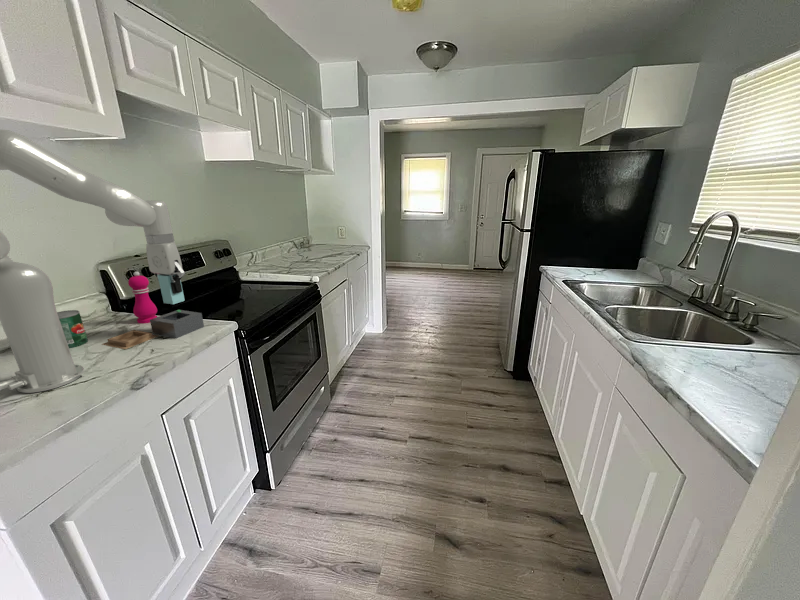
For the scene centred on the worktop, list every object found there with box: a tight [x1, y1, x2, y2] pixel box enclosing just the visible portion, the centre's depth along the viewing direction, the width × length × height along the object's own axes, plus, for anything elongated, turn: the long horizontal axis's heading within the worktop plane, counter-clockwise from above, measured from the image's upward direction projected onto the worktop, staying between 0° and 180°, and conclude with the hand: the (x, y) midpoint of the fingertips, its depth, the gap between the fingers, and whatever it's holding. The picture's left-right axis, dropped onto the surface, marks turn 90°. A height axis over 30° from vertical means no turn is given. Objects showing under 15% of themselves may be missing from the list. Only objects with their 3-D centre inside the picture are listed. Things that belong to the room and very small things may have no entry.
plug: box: [157, 271, 185, 305], centre depth 113 cm, size 4×4×11 cm
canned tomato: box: [57, 309, 89, 349], centre depth 104 cm, size 8×8×11 cm
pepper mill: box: [127, 271, 158, 325], centre depth 123 cm, size 7×7×20 cm
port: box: [149, 309, 205, 339], centre depth 117 cm, size 11×11×6 cm
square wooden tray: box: [101, 329, 159, 350], centre depth 109 cm, size 11×11×2 cm
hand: (172, 291), depth 113 cm, fingers closed on plug, 4 cm apart
